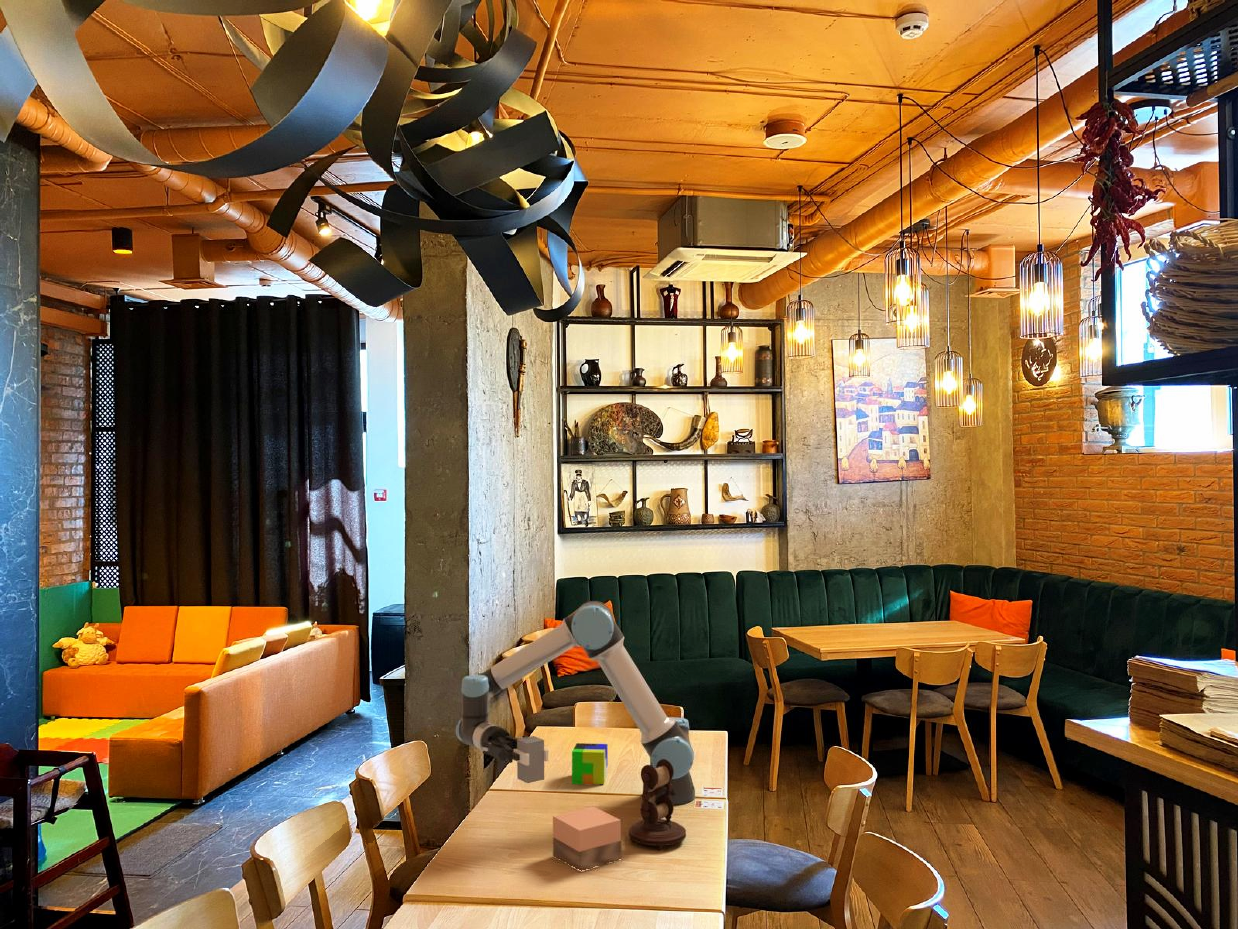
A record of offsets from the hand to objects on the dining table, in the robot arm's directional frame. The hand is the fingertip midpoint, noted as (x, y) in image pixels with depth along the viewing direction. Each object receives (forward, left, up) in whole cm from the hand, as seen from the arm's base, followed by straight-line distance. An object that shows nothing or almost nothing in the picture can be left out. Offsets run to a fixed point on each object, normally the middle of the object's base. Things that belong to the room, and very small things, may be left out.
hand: (537, 758), depth 224 cm
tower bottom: (-6, +13, -23) cm, 27 cm away
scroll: (-27, +15, -23) cm, 38 cm away
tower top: (-6, +13, -18) cm, 23 cm away
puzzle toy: (-43, -37, -23) cm, 61 cm away
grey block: (0, -3, -6) cm, 7 cm away
